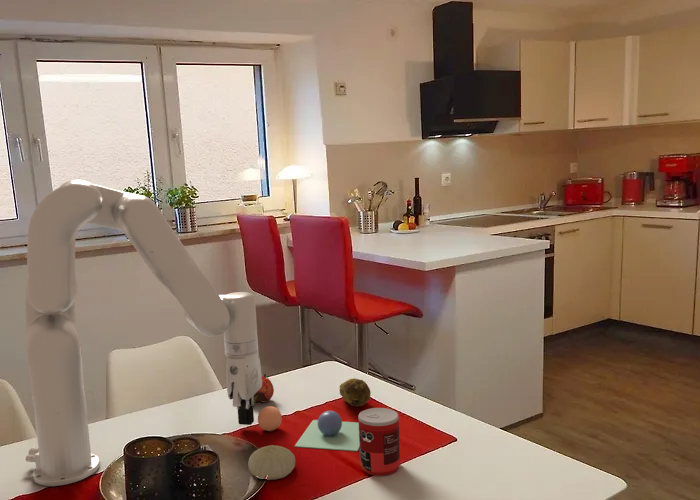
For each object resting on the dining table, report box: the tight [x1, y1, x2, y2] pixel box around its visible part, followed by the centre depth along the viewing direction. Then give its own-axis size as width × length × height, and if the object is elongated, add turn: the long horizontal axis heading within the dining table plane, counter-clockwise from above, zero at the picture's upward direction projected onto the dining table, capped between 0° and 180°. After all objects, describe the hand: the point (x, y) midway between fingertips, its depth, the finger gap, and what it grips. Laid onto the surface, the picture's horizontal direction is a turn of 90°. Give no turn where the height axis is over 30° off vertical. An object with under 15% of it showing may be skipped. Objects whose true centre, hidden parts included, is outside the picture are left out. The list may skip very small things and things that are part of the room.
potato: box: [339, 378, 371, 407], centre depth 158 cm, size 8×13×8 cm, turn 175°
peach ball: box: [257, 405, 283, 432], centre depth 146 cm, size 6×6×6 cm
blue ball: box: [317, 410, 343, 436], centre depth 142 cm, size 6×6×6 cm
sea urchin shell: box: [247, 444, 296, 481], centre depth 126 cm, size 9×8×8 cm
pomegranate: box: [251, 373, 275, 407], centre depth 163 cm, size 7×7×10 cm
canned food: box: [358, 407, 401, 477], centre depth 126 cm, size 8×8×11 cm
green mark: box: [294, 419, 360, 452], centre depth 142 cm, size 14×14×1 cm
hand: (246, 423), depth 147 cm, fingers closed
